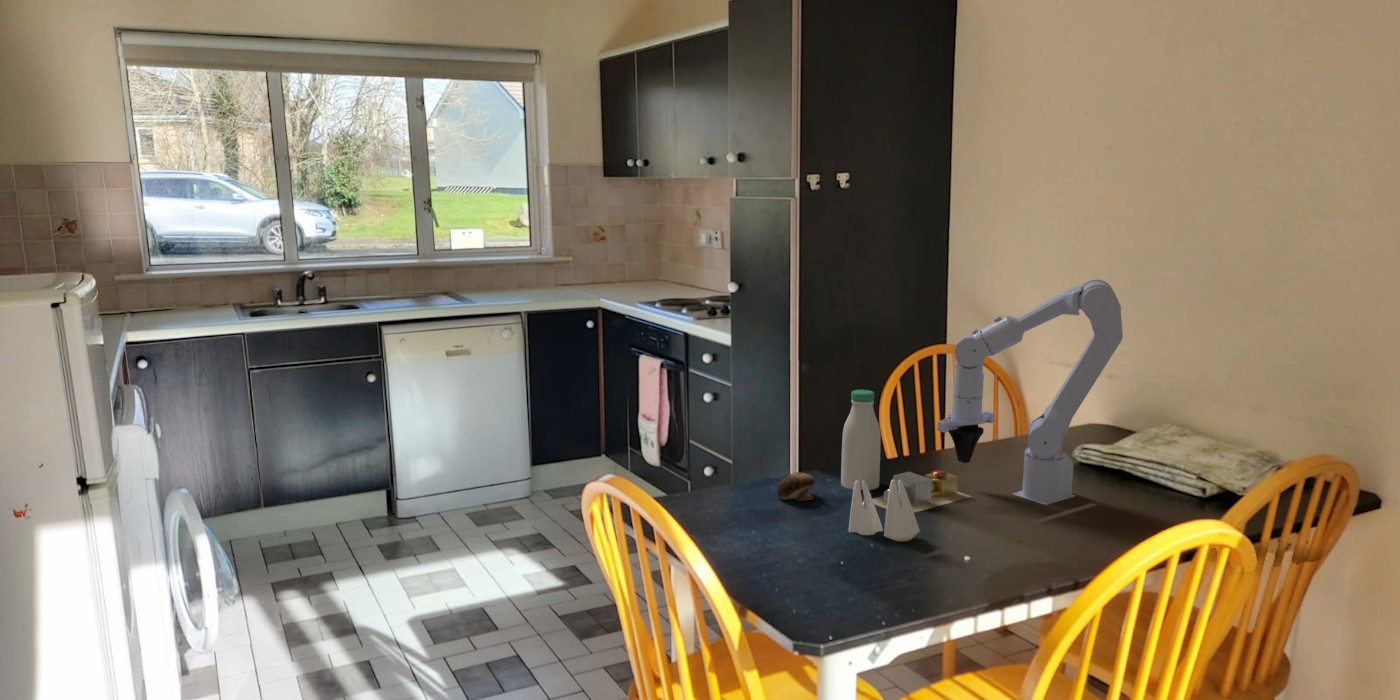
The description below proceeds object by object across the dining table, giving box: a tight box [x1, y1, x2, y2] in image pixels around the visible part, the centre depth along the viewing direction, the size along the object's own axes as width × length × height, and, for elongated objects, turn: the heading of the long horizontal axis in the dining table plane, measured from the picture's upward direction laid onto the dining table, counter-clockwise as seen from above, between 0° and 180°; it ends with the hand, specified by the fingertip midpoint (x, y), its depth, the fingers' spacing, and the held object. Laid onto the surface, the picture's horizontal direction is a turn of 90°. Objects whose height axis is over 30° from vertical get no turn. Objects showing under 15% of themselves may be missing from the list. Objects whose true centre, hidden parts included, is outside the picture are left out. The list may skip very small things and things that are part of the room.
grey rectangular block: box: [882, 471, 932, 507], centre depth 188 cm, size 8×6×5 cm
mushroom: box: [777, 472, 816, 502], centre depth 191 cm, size 8×8×6 cm
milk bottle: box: [840, 389, 882, 491], centre depth 198 cm, size 8×8×20 cm
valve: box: [924, 469, 959, 498], centre depth 193 cm, size 8×4×4 cm, turn 124°
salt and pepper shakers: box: [848, 479, 920, 542], centre depth 171 cm, size 12×4×11 cm, turn 59°
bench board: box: [872, 491, 973, 514], centre depth 191 cm, size 19×10×1 cm, turn 124°
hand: (963, 461), depth 197 cm, fingers closed
